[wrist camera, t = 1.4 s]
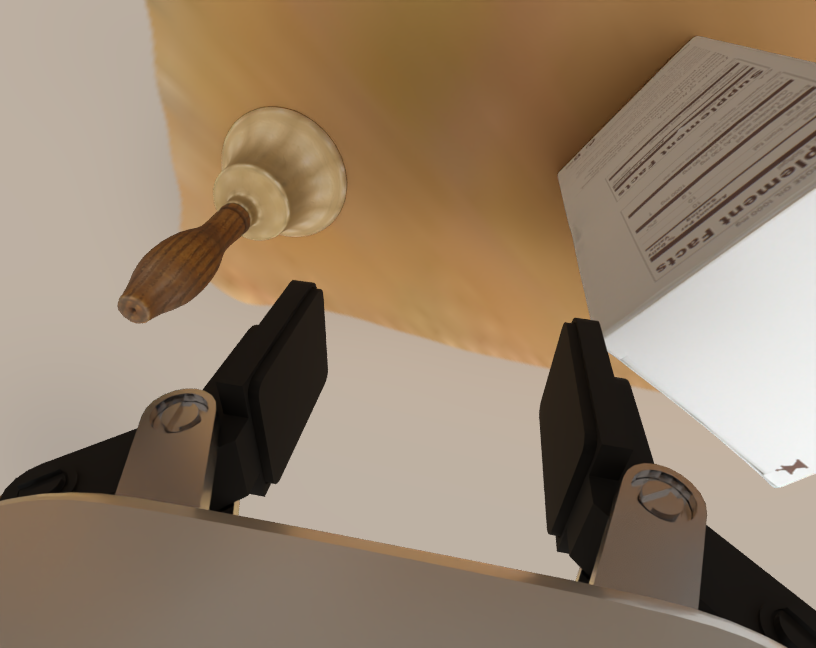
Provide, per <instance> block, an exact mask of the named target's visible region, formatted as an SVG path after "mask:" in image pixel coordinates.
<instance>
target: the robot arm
mask: <svg viewBox="0 0 816 648" xmlns="http://www.w3.org/2000/svg"><path fill="white" fill-rule="evenodd" d="M327 374H328V365H327V348H326V331H325V316H324V298H323V291H322V290H321V289H317V287H316V284H315V283H312V282H304V281H297V280H292V281H291V282H290V283H289V285H288V286H287V287H286V289H285V290H284V292H283V293H282V294H281V296H280V297H279V298H278V300H277V301H276V302H275V304H274V305H273V306H272V308H271V309H270V310H269V312H268V313H267V314H266V316H265V317H264V318H263V320H262V321H261V322H260V324H259V325H254V326H252V327H251V328H250V329H249V330H248V331H247V333H246V334H245V335H244V336H243V338H242V339H241V340H240V342H239V343H238V344H237V346H236V347H235V348H234V349H233V351H232V352H231V354H230V355H229V356H228V357H227V359H226V360H225V361H224V363H223V364H222V365H221V367H220V368H219V369H218V370H217V372H216V373H215V374H214V376H213V377H212V378H211V380H210V381H209V382H208V383H207V385H206V386H205V387H204V389H203V390H199V389H180V390H175V391H172V392H170V393H167V394H164V395H162V396H161V397H159V398H157V399H156V400H154V401H153V402H152V403H151V404H150V405H149V406H148V407H147V408H146V409H145V411H144V413H143V414H142V416H141V419H140V422H139V425H138V428H137V429H134V430H132V431H129V432H126V433H124V434H121V435H118V436H116V437H113V438H110V439H107V440H105V441H102V442H99V443H97V444H94V445H91V446H89V447H86V448H83V449H81V450H78V451H75V452H72V453H70V454H67V455H64V456H62V457H59V458H56V459H54V460H51V461H48V462H46V463H43V464H41V465H38V466H36V467H34V468H32V469H30V470H28V471H26V472H25V473H23V474H22V475H20V476H19V477H18V478H16V479H15V480H14V481H13V482H12V483H11V484H10V485H9V486H8V487H7V488H6V489H5V491H4V492H3V494H2V495H1V496H0V648H816V611H815V610H814V609H813V608H811V607H810V606H809V605H808V604H806V603H805V602H804V601H803V600H801V599H800V598H799V597H797V596H796V595H795V594H794V593H792V592H791V591H790V590H789V589H787V588H786V587H785V586H784V585H782V584H781V583H780V582H778V581H777V580H776V579H775V578H773V577H772V576H771V575H770V574H768V573H767V572H765V571H764V570H763V569H762V568H761V567H759V566H758V565H757V564H755V563H754V562H753V561H752V560H750V559H749V558H748V557H747V556H745V555H744V554H743V553H741V552H740V551H739V550H738V549H736V548H735V547H734V546H733V545H731V544H730V543H729V542H727V541H726V540H725V539H724V538H722V537H721V536H720V535H718V534H717V533H716V532H715V531H713V530H712V529H711V528H710V527H708V526H707V525H706V519H707V510H706V503H705V501H704V499H703V497H702V495H701V493H700V492H699V491H698V490H697V489H696V487H695V486H694V485H693V484H692V483H691V482H690V481H689V480H687V479H686V478H685V477H683V476H682V475H681V474H679V473H677V472H675V471H673V470H672V469H670V468H667V467H664V466H660V465H657V464H654V462H653V458H652V455H651V451H650V448H649V445H648V442H647V438H646V435H645V432H644V428H643V425H642V422H641V419H640V415H639V412H638V409H637V405H636V402H635V399H634V396H633V393H632V389H631V386H630V383H629V381H628V380H627V379H624V378H617V377H614V374H613V370H612V367H611V363H610V359H609V355H608V352H607V348H606V344H605V341H604V337H603V333H602V329H601V326H600V323H599V321H595V320H588V319H580V318H574V319H573V321H572V323H566V322H565V323H564V324H563V327H562V330H561V334H560V337H559V341H558V344H557V348H556V351H555V355H554V358H553V362H552V365H551V368H550V372H549V376H548V379H547V382H546V386H545V389H544V393H543V396H542V400H541V404H540V410H539V419H540V434H541V449H542V463H543V478H544V492H545V506H546V520H547V531H548V534H550V535H555V536H556V546H557V552H563V553H568V554H569V556H570V557H571V558H572V559H573V560H574V561H575V562H576V563H577V564H578V565H579V566H580V568H579V571H578V575H577V578H576V581H572V580H567V579H562V578H557V577H552V576H547V575H542V574H537V573H532V572H527V571H522V570H517V569H512V568H507V567H502V566H497V565H492V564H487V563H482V562H476V561H472V560H467V559H461V558H457V557H452V556H446V555H441V554H436V553H431V552H425V551H421V550H415V549H410V548H405V547H400V546H395V545H390V544H385V543H379V542H374V541H369V540H364V539H359V538H353V537H348V536H343V535H338V534H332V533H328V532H322V531H317V530H312V529H307V528H301V527H296V526H290V525H285V524H280V523H275V522H270V521H264V520H259V519H254V518H248V517H242V516H238V515H239V505H240V499H242V498H244V497H246V496H248V495H249V494H253V495H258V496H264V497H265V495H266V493H267V491H268V489H269V487H270V484H271V483H273V484H277V483H278V482H279V480H280V478H281V476H282V474H283V472H284V470H285V468H286V466H287V463H288V461H289V459H290V457H291V455H292V453H293V450H294V448H295V446H296V444H297V442H298V440H299V438H300V436H301V434H302V431H303V429H304V427H305V425H306V423H307V420H308V419H309V417H310V414H311V412H312V410H313V408H314V406H315V404H316V402H317V399H318V397H319V395H320V393H321V391H322V389H323V387H324V384H325V382H326V378H327Z"/></svg>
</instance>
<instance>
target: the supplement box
mask: <svg viewBox="0 0 816 648" xmlns="http://www.w3.org/2000/svg"><path fill="white" fill-rule="evenodd" d="M558 181H559V185H560V189H561V193H562V198H563V202H564V207H565V211H566V215H567V219H568V223H569V227H570V230H571V233H572V236H573V242H574V247H575V252H576V257H577V261H578V266H579V270H580V275H581V279H582V284H583V288H584V292H585V297H586V301H587V306H588V310H589V314H590V319H591V320H595V321H599V323H600V326H601V329H602V333H603V337H604V341H605V344H606V348H607V352H609V353H610V354H611V355H613V356H614V357H616V358H617V359H618V360H620V361H621V362H622V363H624V364H625V365H626V366H627V367H629V368H630V369H631V370H633V371H634V372H635V373H637V374H638V375H639V376H641V377H642V378H643V379H644V380H646V381H647V382H648V383H650V384H651V385H652V386H653V387H655V388H656V389H657V390H659V391H660V392H661V393H662V394H664V395H665V396H666V397H668V398H669V399H670V400H671V401H673V402H674V403H675V404H677V405H678V406H679V407H681V408H682V409H683V410H684V411H685V412H687V413H688V414H689V415H690V416H692V417H693V418H694V419H695V420H697V421H698V422H699V423H700V424H702V425H703V426H704V427H705V428H706V429H708V430H709V431H710V432H711V433H712V434H713V435H715V436H716V437H717V438H718V439H719V440H720V441H722V442H723V443H724V444H725V445H726V446H727V447H729V448H730V449H731V450H733V452H735V453H736V454H737V455H738V456H739V457H740V458H741V459H743V460H744V461H745V462H746V463H747V464H748V465H750V466H751V467H752V468H753V469H754V470H755V471H756V472H758V474H760V475H761V476H762V477H763V478H764V479H765V480H766V481H767V482H768V483H769V484H770V485H771V486H773V487H775V488H779V487H783V486H785V485H788V484H790V483H793V482H795V481H798V480H801V479H803V478H806V477H808V476H811V475H813V474H816V63H814V62H810V61H806V60H801V59H797V58H793V57H788V56H784V55H780V54H775V53H770V52H766V51H762V50H758V49H754V48H749V47H745V46H741V45H736V44H732V43H727V42H723V41H719V40H714V39H710V38H706V37H700V36H695V37H694V38H692V39H691V40H690V41H689V42H688V43H687V44H686V45H685V46H684V47H683V48H682V49H681V50H680V51H679V52H678V53H677V54H676V55H675V56H674V57H673V58H672V59H671V60H670V61H669V62H668V63H667V64H666V65H665V66H664V67H663V68H662V69H661V70H660V71H659V72H658V73H657V74H656V75H655V76H654V77H653V78H652V79H651V80H650V81H649V82H648V83H647V84H646V85H645V86H644V87H643V88H642V89H641V90H640V91H639V92H638V93H637V94H636V95H635V96H634V97H633V98H632V99H631V100H630V101H629V102H628V103H627V104H626V105H625V106H624V107H623V108H622V109H621V110H620V111H619V112H618V113H617V114H616V115H615V116H614V117H613V118H612V119H611V120H610V121H609V122H608V123H607V124H606V125H605V126H604V127H603V128H602V129H601V130H600V131H599V132H598V133H597V134H596V135H595V136H594V137H593V138H592V139H591V140H590V141H589V142H588V143H587V144H586V145H585V146H584V147H583V148H582V149H581V150H580V151H579V152H578V153H577V155H576V156H575V157H574V158H573V159H572V160H571V161H570V162H569V163H568V164H567V165H566V166H565V167H564V168H563V169H562V170H561V171H560V172H559V173H558Z"/></svg>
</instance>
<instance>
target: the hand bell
mask: <svg viewBox="0 0 816 648" xmlns="http://www.w3.org/2000/svg"><path fill="white" fill-rule="evenodd" d="M346 189H347V178H346V172H345V167H344V164H343V161H342V158H341V156H340V153H339V151H338V149H337V147H336V146H335V144H334V143H333V141H332V140H331V138H330V137H329V136H328V135H327V133H326V132H325V131H324V130H323V129H322V128H321V127H319V126H318V125H317V124H316V123H315V122H313V121H312V120H311V119H309V118H307V117H306V116H304V115H302V114H300V113H298V112H295V111H293V110H290V109H286V108H280V107H263V108H259V109H256V110H253V111H250V112H248V113H246V114H245V115H243V116H242V117H240V118H239V119H238V120H237V121H236V122H235V123H234V124H233V126H232V127H231V128H230V130H229V131H228V134H227V136H226V138H225V141H224V145H223V150H222V172H221V173H220V174H219V175H218V177H217V179H216V181H215V184H214V188H213V199H214V204H215V207H216V210H217V212H216V213H215V214H214V215H213V216H212V217H211V218H210V219H209V220H208V221H207V222H206V223H205V224H203V225H202V226H200V227H198V228H194V229H189V230H186V231H182V232H179V233H177V234H175V235H173V236H171V237H169V238H167V239H165V240H163V241H162V242H160V243H159V244H158V245H157V246H155V247H154V248H153V249H151V250H150V251H149V252H148V253H147V254H146V255H145V256H144V257H143V258H142V259H141V261H140V262H139V263H138V265H137V267H136V269H135V270H134V272H133V274H132V276H131V279H130V281H129V283H128V285H127V287H126V289H125V291H124V293H123V295H122V296H121V297H120V298H119V301H118V310H119V311H120V312H121V314H122V315H123V316H124V317H125V318H127V319H128V320H130V321H131V322H134V323H146V322H147V321H149V320H151V319H152V318H154V317H156V316H158V315H160V314H162V313H165V312H168V311H171V310H174V309H176V308H178V307H180V306H182V305H184V304H186V303H188V302H189V301H191V300H192V299H193V298H194V297H196V296H197V295H198V294H199V293H200V292H201V291H202V290H203V289H204V288H205V287H206V286H207V285H208V283H209V282H210V281H211V280H212V278H213V277H214V275H215V273H216V272H217V270H218V268H219V266H220V263H221V260H222V257H223V254H224V252H225V251H226V249H227V248H228V247H229V246H230V245H231V244H232V243H234V242H235V241H236V240H237V239H238V238H239V237H241V236H242V237H245V238H247V239H251V240H258V241H262V240H268V239H272V238H274V237H276V236H278V235H283V236H290V237H302V236H309V235H312V234H315V233H318V232H320V231H322V230H323V229H325V228H326V227H328V226H329V225H330V224H331V223H332V222H333V221H334V220H335V219H336V217H337V216H338V215H339V213H340V211H341V209H342V206H343V204H344V201H345V197H346Z"/></svg>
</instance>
